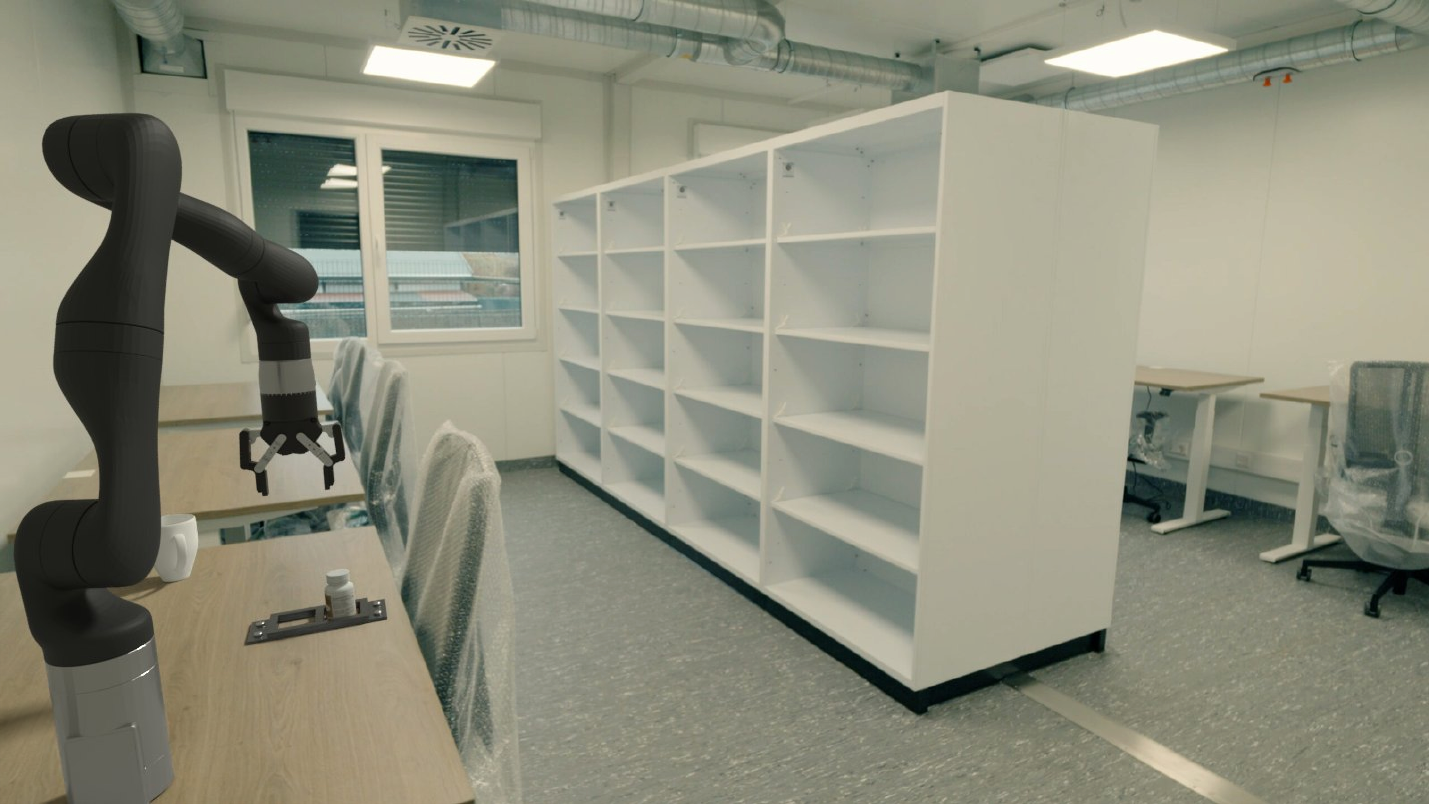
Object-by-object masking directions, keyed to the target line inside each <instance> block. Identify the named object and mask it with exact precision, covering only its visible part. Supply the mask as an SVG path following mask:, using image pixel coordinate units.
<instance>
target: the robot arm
mask: <svg viewBox="0 0 1429 804" xmlns="http://www.w3.org/2000/svg"><path fill="white" fill-rule="evenodd" d="M43 133H44V134H43V136H42V140H41V151H42V156H43V159H44V162H45V164H46V166H47V168H48V170H49V172H50V173H51V175H52V176H53V178H54V179H55V180H56V181H57V182H58V183H59V184H60V185H61V186H62V187H64V188H65V189H66V190H67V191H69V192H71V193H72V194H73V195H75V196H77V197H79V198H81V199H82V200H85V201H87V202H89V203H91V204H94V205H97V207H98V206H99V207H101V208H103V209H106V210H108V211H110V212H111V214H110V219H109V222H108V228H107V230H106V232H105V235H104V237H103V239H102V242H101V243H100V245H99V246H98V248H97V249H96V251H95V252H94V254H93V255H92V256H91V257H90V259H89V260H88V261H87V263H86V264H85V266H84V267H83V268H82V270H81V271H80V272H79V273H78V275H77V277H75V279H74V280H73V282H72V283H71V285H70V286H69V287H68V289H67V290H66V292H65V294H64V296H63V298H62V299H61V301H60V303H59V306H58V308H57V311H56V319H55V329H54V341H53V342H54V343H53V344H54V345H53V354H52V358H53V359H52V368H53V374H54V377H55V381H56V383H57V386H58V387H59V389H60V391H61V393H62V395H63V397H64V398H65V399H66V401H67V403H68V404H69V406H70V407H71V409H72V410H73V412H74V414H75V416H77V418H78V419H79V420H80V422H81V424H82V425H83V427H84V429H85V431H86V432H87V434H88V435H89V437H90V440H91V442H92V444H93V445H94V450H95V453H96V458H97V464H98V465H97V466H98V498H81V499H80V498H79V499H75V498H74V499H57V500H51V501H45V502H42V503H40V504H38V505H36V506H34V507H33V508H32V509H30V510H29V511H28V512H27V513H26V514H25V516H23V517H22V519H21V521H20V522H19V525H18V526H17V528H16V529H17V530H16V533H15V537H14V541H13V562H14V569H15V570H14V571H15V574H16V579H17V583H18V588H19V591H20V592H19V593H20V596H21V599H22V604H23V606H24V607H23V608H24V611H25V616H26V621H27V625H28V630H29V631H30V634H31V636H32V637H33V639H34V641H35V642H36V643H37V644H38V646H39V647H40V648H41V651H42V655H43V660H44V664H45V671H46V678H47V683H48V690H49V696H50V697H49V698H50V703H51V710H52V715H53V721H54V727H55V729H54V730H55V735H56V740H57V746H58V747H57V748H58V751H59V759H60V765H61V772H62V777H63V783H64V789H65V794H66V795H65V796H66V802H67V804H150V803H151V802H152V801H153V800H154V799H156V798H157V797H159V796H160V795H161V794H162V793H164V791H165V790H167V788H168V787H169V786H170V785H171V783H172V782H173V779H174V776H175V775H174V768H173V767H174V766H173V759H172V753H171V745H170V738H169V737H170V736H169V730H168V724H167V716H166V709H165V708H166V707H165V703H164V694H163V688H162V687H163V686H162V680H161V673H160V665H159V664H160V663H159V659H158V658H159V656H158V648H157V642H156V635H155V627H154V621H153V616H152V614H151V612H150V610H149V609H148V608H146V607H145V606H143V605H142V604H139V603H136V602H133V601H130V600H127V599H125V598H122V597H121V596H118V595H117V594H115V593H113V592H112V591H110V588H111V589H115V588H125V587H132V586H135V585H138V584H139V583H141V582H142V581H143V580H145V579H146V578H147V577H148V576H149V574H150V573H151V572H152V570H153V569H154V567H153V566H154V564H155V562H156V559H157V556H158V552H159V547H160V540H161V516H162V507H161V506H162V505H161V503H162V502H161V489H160V470H159V436H158V435H159V416H160V414H159V412H160V411H159V410H160V409H159V408H160V393H161V392H160V391H161V381H162V373H163V372H162V371H163V364H164V362H163V361H164V348H165V346H164V345H165V307H166V305H165V303H166V292H167V291H166V290H167V280H168V272H169V271H168V269H169V260H170V251H171V246H172V241H174V242H175V243H177V244H178V245H179V244H180V245H181V246H183V247H185V248H186V249H188V250H190V251H191V252H192V253H194V254H196V255H198V257H201V258H202V259H203V260H205V261H206V262H208V263H210V264H211V265H213V266H214V267H215V268H217V269H218V270H220V271H221V272H223V273H224V274H226V275H228V276H230V277H232V278H234V279H236V280H237V287H238V290H239V294H240V296H241V298H242V301H243V303H244V306H245V308H246V310H247V313H248V316H249V318H250V321H251V324H252V327H253V329H254V331H255V333H256V334H255V335H256V342H257V353H258V375H257V377H258V385H259V396H260V407H261V418H262V427H261V429H249V428H245V427H244V428H243V429H241V431H240V432H239V433H238V439H239V443H238V444H239V467H240V469H241V470H243V471H245V470H247V471H251V472H253V473H254V475H255V484H256V485H255V486H256V492H257V493H258V494H261V496H262V497H268V496H269V494H270V488H269V480H268V470H267V469H266V467H267V466H268V465H269V463H270V462H271V461H272V459H273V458H274V457H275V455H276V454H278V455H280V456H289V455H293V454H295V455H304V454H306V453H309V452H311V454H313V456H314V457H315V458H317V459H318V460H319V461H320V462H321V463H322V464H323V465H322V466H323V467H322V470H323V472H322V473H323V484H324V490H325V491H328V490H331V486H332V487H333V486H334V484H335V481H336V480H335V470H334V466H335V465H336V464H337V463H340V462H343V461H345V460H346V450H345V449H346V448H345V443H344V436H343V430H342V424H341V423H340V422H338V421H336V422H334V423H330V424H322V423H321V422H320V420H319V412H318V411H319V409H318V400H317V399H318V398H317V389H316V388H317V387H316V386H317V381H316V377H315V375H316V374H315V369H314V366H313V361H312V350H311V341H310V340H311V338H310V330H309V327H308V325H307V323H305V322H303V321H301V320H298V319H294V318H288V317H286V316H284V314H283V313H282V311H281V310H280V308H279V306H278V305H279V304H280V305H281V304H282V305H284V304H285V305H286V304H287V305H288V304H289V305H290V304H291V305H292V304H296V305H297V304H298V305H299V304H303V303H306V302H309V301H310V300H312V299H313V298H314V297H315V296H316V294H317V292H318V289H319V285H320V283H319V275H318V273H317V271H316V269H315V267H314V265H312V263H311V262H310V261H309V260H308V259H307V258H305V257H304V256H303V255H302V254H300V253H297V252H296V251H294V250H292V249H290V248H288V247H286V246H283V245H281V244H279V243H277V242H275V241H271V240H269V239H267V238H264V237H262V236H261V235H260V234H259V233H258V232H257V231H256V230H254V229H253V228H252V227H251V226H250V225H248V224H247V223H246V222H244V221H243V220H242V219H240V218H239V217H237V216H236V215H234V214H233V213H231V212H229V211H227V210H225V209H224V208H221V207H219V206H217V205H215V204H211V203H209V202H207V201H204V200H202V199H199V198H196V197H194V196H191V195H189V194H186V193H184V192H181V189H182V181H183V179H182V178H183V161H182V154H181V150H180V147H179V143H178V140H177V139H176V136H175V134H174V133H173V131H172V130H171V128H170V127H169V125H168V124H166V123H165V122H164V121H163V120H161V119H160V118H158V117H156V116H154V115H152V114H148V113H143V112H142V113H139V112H121V113H120V112H119V113H118V112H116V113H115V112H114V113H94V114H93V113H92V114H89V113H88V114H78V115H69V116H65V117H61V118H58V119H56V120H54V121H53V122H51V123H50V124H49V125H48V126H47V128H45V131H44V132H43ZM323 433H326V434H327V437H329V438H330V439H333V443H334V450H335V453H333V454H332V455H331V454H330V453H328V451H326V450H325V448H324V447H323V445H321V444H320V442H318V440H319V438H320V437H321V435H322V434H323ZM259 437H260V438H261V439H262V440H263V441H264V442H265V443H266V444H267V446H269V447H268V448H267V449H266V451H265V452H264V453H263V455H262V456H261V458H260V459H259V460H258V461H256V460H252V445H253V444H255V443H256V442H257V438H259Z"/></svg>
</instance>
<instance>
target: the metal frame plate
mask: <svg viewBox="0 0 1429 804" xmlns="http://www.w3.org/2000/svg"><path fill="white" fill-rule="evenodd" d="M355 605H356V615H352V616H346V617H340V618H335V619H329V620H328V619H327V618H326V620H325V615H327V611H326V604H321V605H317V606H310V607H305V608H298V609H292V610H287V611H282V612H276V613H271V614H270V615H269V618H268V619H262V620H255V621H252V622H251V626H250V628H249V632H248V637H247V641H246V645H247V646H248V645H252V644H253V645H254V644H259V643H264V642H269V641H275V640H279V639H286V638H291V637H296V636H301V635H308V634H312V633H318V632H323V631H327V630H328V631H329V630H334V629H339V628H346V627H351V626H356V625H361V624H368V623H373V622H378V621H382V620H383V621H384V620H388V613H387V607H386V599H385V598H382V599H376V600H370V601H369V600H368V597H363V598H355ZM358 610H360V613H359V611H358ZM312 617H315V618H314V622H308V623H303V624H295V625H290V626H286V627H281V628H279V626H280V623H282V622H283V623H284V622H288V621H289V622H290V621H295V620H302V619H305V618H312Z"/></svg>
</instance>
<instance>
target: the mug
mask: <svg viewBox="0 0 1429 804" xmlns="http://www.w3.org/2000/svg"><path fill="white" fill-rule="evenodd" d="M197 526H198V524H197V519H196V516H195V515H194V514H191V513H173V514H166V515H161V540H160V547H159V552H158V556H157V559H156V562H155V564H154V566H153V569H154V570H155V571H156V573H157V574H158V576H159V577H160V579H161V580H162V581H163V582H164V583H173V582H180V581H182V580H185V579H187V578H189V577H190V576H191V575H192V574H191V573H192V569H193V568H194V567H193V566H194V563H195V560H196V556H197V553H198V550H199V549H198V548H199V534H198V527H197Z"/></svg>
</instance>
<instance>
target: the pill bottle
mask: <svg viewBox="0 0 1429 804" xmlns="http://www.w3.org/2000/svg"><path fill="white" fill-rule="evenodd" d="M325 578H326V584H327V585H326V586H325V587H324V601H325V605H326V611H327V614H326V620H327V619H328V620H329V619H335V618H340V617H346V616H352V615H356V605H355V600H356V597H355V586H354V583H353V582H352V581H350V578H351V575H350V570H349V569H347V568H338V569H337V568H336V569H333V570H330V571H328V572H327V573H326V577H325Z"/></svg>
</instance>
